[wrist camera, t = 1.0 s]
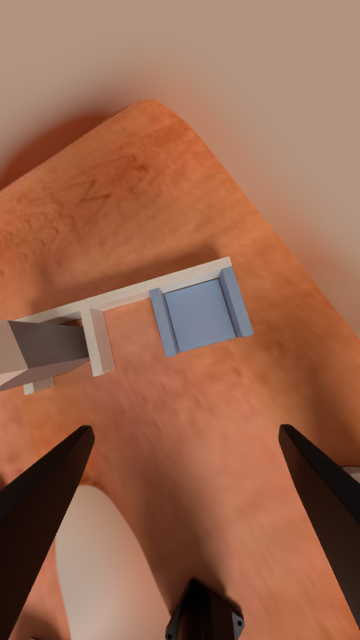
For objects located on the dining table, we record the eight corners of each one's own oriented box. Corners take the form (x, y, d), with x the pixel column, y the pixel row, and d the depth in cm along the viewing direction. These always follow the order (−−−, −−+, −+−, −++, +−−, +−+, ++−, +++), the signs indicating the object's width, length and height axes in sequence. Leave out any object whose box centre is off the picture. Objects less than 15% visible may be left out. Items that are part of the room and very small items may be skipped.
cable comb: (46, 387, 24) (24, 395, 21) (35, 322, 25) (13, 320, 22) (245, 334, 22) (253, 334, 19) (224, 266, 23) (228, 256, 20)
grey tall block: (96, 355, 23) (-8, 375, 11) (67, 372, 23) (-65, 409, 12) (81, 326, 24) (-32, 317, 12) (54, 343, 24) (-85, 349, 12)
